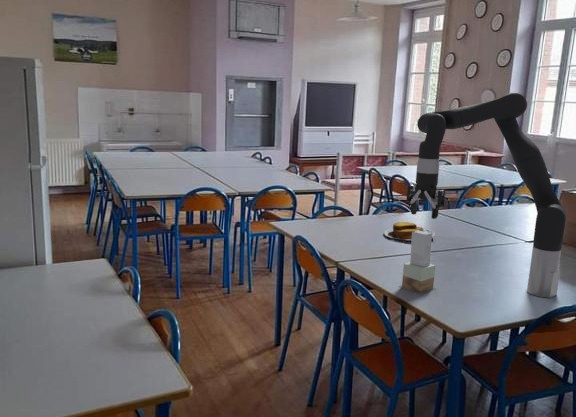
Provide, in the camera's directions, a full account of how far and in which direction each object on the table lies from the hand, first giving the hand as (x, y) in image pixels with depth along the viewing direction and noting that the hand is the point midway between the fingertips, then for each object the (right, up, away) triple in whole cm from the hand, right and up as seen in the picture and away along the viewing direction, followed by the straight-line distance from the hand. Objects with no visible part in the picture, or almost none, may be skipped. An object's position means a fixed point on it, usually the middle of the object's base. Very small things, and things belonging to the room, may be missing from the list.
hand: (423, 216), depth 191 cm
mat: (-1, -27, +6) cm, 27 cm away
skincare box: (-1, -18, +4) cm, 18 cm away
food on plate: (+13, -12, +79) cm, 81 cm away
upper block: (-1, -22, +5) cm, 23 cm away
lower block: (-1, -26, +6) cm, 27 cm away
